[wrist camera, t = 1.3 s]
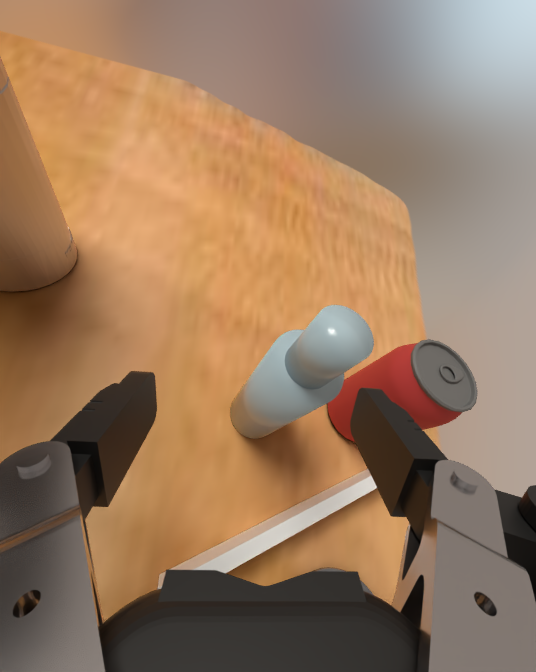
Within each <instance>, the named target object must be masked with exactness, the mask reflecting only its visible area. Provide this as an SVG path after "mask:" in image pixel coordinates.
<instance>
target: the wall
mask: <svg viewBox="0 0 536 672" xmlns="http://www.w3.org/2000/svg"><path fill="white" fill-rule="evenodd" d="M376 488H377V486H376V484H375V482H374V480H373V478H372V476H371V474H370V472H369V470H368V469H366V470H364V471H362V472H360V473H358V474H356V475H354V476H352V477H350V478H348V479H346V480H344V481H342V482H340V483H338V484H336V485H334V486H332V487H330V488H328V489H326V490H324V491H322V492H320V493H318V494H317V495H315V496H313V497H311V498H309V499H307V500H305V501H303V502H301V503H299V504H297V505H295V506H293V507H291V508H289V509H287V510H285V511H283V512H281V513H279V514H277V515H275V516H273V517H271V518H269V519H267V520H265V521H263V522H261V523H259V524H258V525H256V526H254V527H252V528H250V529H248V530H246V531H244V532H242V533H240V534H238V535H236V536H234V537H232V538H230V539H228V540H226V541H224V542H222V543H220V544H218V545H216V546H214V547H212V548H210V549H208V550H206V551H204V552H202V553H200V554H198V555H197V556H195V557H193V558H191V559H189V560H187V561H185V562H183V563H181V564H179V565H177V566H175V567H173V568H171V569H169V570H217V571H220V572H222V573H227V572H229V571H231V570H232V569H234V568H236V567H238V566H239V565H241V564H243V563H245V562H247V561H248V560H250V559H252V558H254V557H255V556H257V555H259V554H261V553H262V552H264V551H266V550H268V549H270V548H271V547H273V546H275V545H277V544H278V543H280V542H282V541H284V540H286V539H287V538H289V537H291V536H293V535H294V534H296V533H298V532H300V531H302V530H303V529H305V528H307V527H309V526H310V525H312V524H314V523H316V522H317V521H319V520H321V519H323V518H325V517H326V516H328V515H330V514H332V513H333V512H335V511H337V510H339V509H341V508H342V507H344V506H346V505H348V504H349V503H351V502H353V501H355V500H356V499H358V498H360V497H362V496H364V495H365V494H367V493H369V492H371V491H372V490H374V489H376ZM165 573H166V571H165V572H163V573H161V574H159V582H158V589H161V588H162V584H163V581H164V577H165Z"/></svg>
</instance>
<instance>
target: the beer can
mask: <svg viewBox="0 0 536 672" xmlns="http://www.w3.org/2000/svg"><path fill="white" fill-rule="evenodd" d="M360 388H377V389H381V390H383V392H384V393H385V394H386V395H387V396H388V398H389V399H390V400H391V401H392V402H394V403H396V404H397V405H399V406H400V407H401V408H403V409H404V410H406V411H407V412H408V414H409V415H410V416H411V417H412V418H413V419H414V422H415V423H417V424H418V425H419V426H420V428H421V429H422V430H424V429H428V428H432V427H437V426H440V425H443V424H446V423H449V422H450V421H452V420H454V419H456V417H458V416H459V415H460V414H461V413H462V412H464V411H468V410H471V409H472V407H473V406H474V405H475V403H476V399H477V387H476V382H475V380H474V377H473V375H472V372H471V371H470V369H469V367H468V366H467V364H466V363H465V362H464V360H463V359H462V358H461V357H460V356H459V355H458V354H457V353H456V352H455V351H454V350H452V349H451V348H450V347H448V346H447V345H445V344H443V343H441V342H438V341H434V340H422V341H420V342H419V343H416V344H409V345H404V346H400V347H397V348H396V349H394V350H393V351H391V352H389V353H388V354H386V355H384V356H383V357H381V358H380V359H378V360H376V361H375V362H373V363H371V364H370V365H368V366H367V367H365V368H363V369H362V370H360V371H358V372H357V373H355V374H354V375H352V376H350V377H349V378H347V379H345V380H344V382H343V386H342V389H341V391H340V392H339V394H338V395H337V396H336V397H335V398H334V399H333V400H332V401H330V402H328V413H329V416H330V418H331V421H332V423H333V425H334V426H335V428H336V429H337V431H338V432H340V433H341V434H342V435H343V436H344V437H345V438H347V439H349V440H351V441H353V442H355V441H354V439H353V436H352V434H351V429H350V420H351V416H352V412H353V408H354V405H355V401H356V397H357V393H358V391H359V389H360Z"/></svg>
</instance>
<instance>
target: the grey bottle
mask: <svg viewBox="0 0 536 672" xmlns="http://www.w3.org/2000/svg"><path fill="white" fill-rule="evenodd" d="M373 345H374V340H373V335H372V332H371V330H370V328H369V326H368V324H367V323H366V322H365V320H364V319H363V318H362V317H361V316H360V315H359V314H357V313H356V312H355V311H353V310H351V309H349V308H347V307H344V306H340V305H331V306H327V307H325V308H324V309H322V310H321V311H320V313H319V314H318V315H317V316H316V317H315V318H314V320H313V321H312V322H311V323H310V324H309V325H308V327H307V328H306V329H305V330H292V331H288V332H286V333H284V334H282V335H281V336H280V337H279V338H278V339H277V340H276V341H275V342H274V344H273V345H272V347H271V348H270V349H269V351H268V352H267V354H266V355H265V356H264V358H263V359H262V360H261V362H260V363H259V365H258V366H257V367H256V369H255V370H254V372H253V373H252V374H251V376H250V377H249V379H248V380H247V381H246V383H245V384H244V386H243V387H242V388H241V390H240V391H239V392H238V394H237V395H236V397H235V398H234V400H233V402H232V404H231V408H230V417H231V421H232V424H233V426H234V427H235V429H236V430H237V431H238V432H239V433H240V434H242V435H243V436H245V437H248V438H252V439H258V438H262V437H265V436H267V435H268V434H270V433H272V432H274V431H276V430H278V429H280V428H282V427H283V426H285V425H287V424H289V423H291V422H293V421H295V420H297V419H298V418H300V417H302V416H304V415H306V414H308V413H310V412H312V411H313V410H315V409H317V408H319V407H321V406H323V405H325V404H327V403H328V402H330V401H332V400H333V399H334V398H335V397H336V396H337V395H338V394H339V392H340V391H341V389H342V386H343V382H344V372H346V371H347V370H349V369H350V368H352V367H354V366H355V365H357V364H358V363H360V362H361V361H363V360H364V359H366V358H367V357H368V356H369V355H370V354H371V352H372V350H373Z"/></svg>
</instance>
